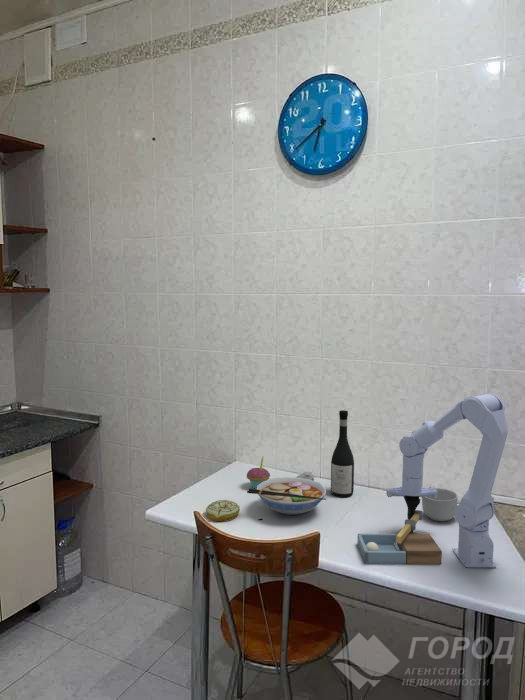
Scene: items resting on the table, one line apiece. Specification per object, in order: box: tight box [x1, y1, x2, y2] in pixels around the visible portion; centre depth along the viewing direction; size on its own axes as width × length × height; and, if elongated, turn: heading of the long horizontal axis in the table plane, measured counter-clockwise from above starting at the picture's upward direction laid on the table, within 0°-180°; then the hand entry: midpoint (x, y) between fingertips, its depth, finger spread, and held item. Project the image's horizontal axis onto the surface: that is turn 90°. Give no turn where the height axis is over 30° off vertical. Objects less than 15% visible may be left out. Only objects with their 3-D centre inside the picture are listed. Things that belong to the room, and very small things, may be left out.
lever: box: [396, 509, 423, 544], centre depth 142 cm, size 20×3×2 cm, turn 147°
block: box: [396, 530, 443, 565], centre depth 138 cm, size 12×9×4 cm
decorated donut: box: [205, 499, 241, 522], centre depth 161 cm, size 10×11×4 cm
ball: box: [366, 542, 379, 551], centre depth 135 cm, size 4×4×4 cm
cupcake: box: [246, 456, 271, 490], centre depth 185 cm, size 9×8×12 cm
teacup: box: [421, 485, 459, 522], centre depth 162 cm, size 14×11×8 cm
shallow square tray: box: [357, 533, 407, 565], centre depth 137 cm, size 11×11×3 cm
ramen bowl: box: [246, 476, 327, 516], centre depth 165 cm, size 25×23×8 cm
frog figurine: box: [296, 471, 315, 481], centre depth 183 cm, size 6×7×7 cm
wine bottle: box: [330, 410, 355, 498], centre depth 179 cm, size 8×8×30 cm
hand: (410, 519), depth 150 cm, fingers closed, pressing on lever
